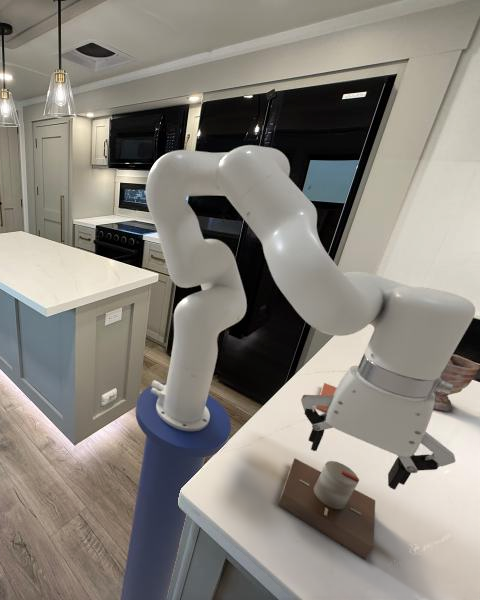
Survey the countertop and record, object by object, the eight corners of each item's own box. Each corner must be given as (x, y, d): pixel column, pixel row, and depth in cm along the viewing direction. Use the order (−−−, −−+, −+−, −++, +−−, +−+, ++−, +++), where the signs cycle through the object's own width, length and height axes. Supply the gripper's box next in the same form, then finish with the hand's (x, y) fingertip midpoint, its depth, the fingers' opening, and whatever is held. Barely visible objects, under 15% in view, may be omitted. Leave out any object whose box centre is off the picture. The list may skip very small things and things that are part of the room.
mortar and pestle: (391, 396, 83) (426, 331, 75) (390, 381, 89) (422, 319, 81) (455, 417, 76) (501, 348, 68) (448, 400, 82) (490, 334, 74)
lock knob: (311, 496, 53) (324, 471, 51) (315, 479, 56) (327, 455, 54) (343, 515, 50) (358, 489, 48) (346, 496, 53) (360, 471, 51)
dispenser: (315, 407, 78) (321, 395, 76) (321, 389, 85) (326, 377, 83) (378, 434, 71) (386, 420, 69) (379, 411, 77) (386, 399, 76)
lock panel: (277, 504, 55) (282, 492, 54) (289, 468, 62) (294, 457, 60) (365, 559, 47) (374, 547, 46) (368, 511, 54) (375, 499, 53)
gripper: (484, 390, 40) (425, 481, 47) (322, 342, 51) (292, 422, 58) (498, 421, 35) (429, 519, 42) (315, 361, 46) (283, 446, 52)
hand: (350, 462), depth 50 cm, fingers open, 9 cm apart
